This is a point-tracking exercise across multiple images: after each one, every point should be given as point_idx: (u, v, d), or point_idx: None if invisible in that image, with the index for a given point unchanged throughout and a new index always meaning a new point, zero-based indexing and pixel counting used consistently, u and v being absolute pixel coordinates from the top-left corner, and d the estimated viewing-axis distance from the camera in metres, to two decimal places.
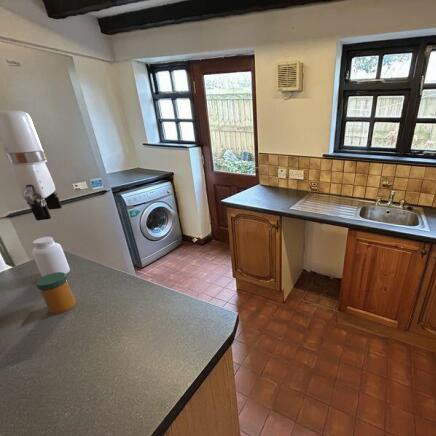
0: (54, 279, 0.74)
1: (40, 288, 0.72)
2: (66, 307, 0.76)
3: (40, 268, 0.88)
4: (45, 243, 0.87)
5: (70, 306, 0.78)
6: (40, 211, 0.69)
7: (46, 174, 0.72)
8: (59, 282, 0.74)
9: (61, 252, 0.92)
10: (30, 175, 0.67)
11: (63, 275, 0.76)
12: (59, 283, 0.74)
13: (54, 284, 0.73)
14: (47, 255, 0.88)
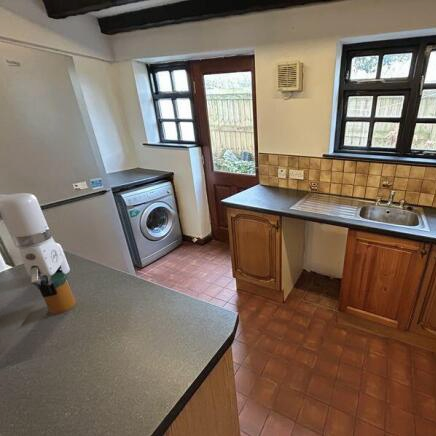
0: (54, 279, 0.74)
1: None
2: (66, 307, 0.76)
3: None
4: None
5: (70, 306, 0.78)
6: None
7: None
8: (59, 282, 0.74)
9: (61, 252, 0.92)
10: None
11: (63, 275, 0.76)
12: (59, 283, 0.74)
13: (54, 284, 0.73)
14: None
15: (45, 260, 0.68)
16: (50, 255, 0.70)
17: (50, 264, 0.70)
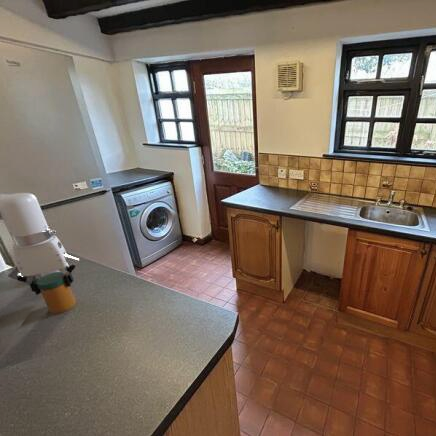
0: (56, 275, 0.75)
1: (62, 281, 0.74)
2: (66, 307, 0.76)
3: None
4: None
5: (70, 306, 0.78)
6: None
7: (39, 255, 0.69)
8: None
9: None
10: (14, 255, 0.67)
11: (51, 273, 0.76)
12: None
13: None
14: None
15: None
16: None
17: None
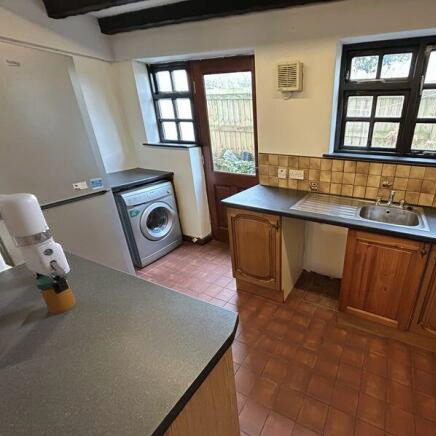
0: None
1: None
2: (66, 307, 0.77)
3: None
4: None
5: (70, 306, 0.78)
6: None
7: (29, 257, 0.68)
8: None
9: (61, 252, 0.92)
10: None
11: (42, 277, 0.74)
12: None
13: None
14: None
15: None
16: None
17: None
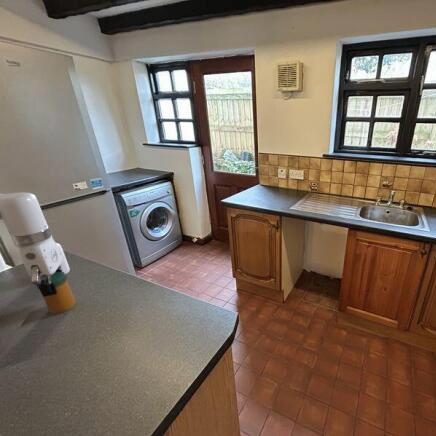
0: (45, 277, 0.74)
1: None
2: (66, 307, 0.77)
3: None
4: None
5: (70, 306, 0.78)
6: None
7: None
8: None
9: (61, 252, 0.92)
10: None
11: None
12: None
13: None
14: None
15: (45, 259, 0.68)
16: (50, 254, 0.70)
17: (49, 263, 0.70)
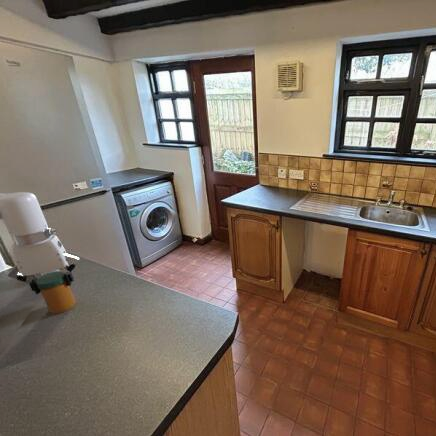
0: (45, 280, 0.73)
1: None
2: (66, 307, 0.77)
3: None
4: None
5: (70, 306, 0.78)
6: None
7: (39, 255, 0.69)
8: (42, 285, 0.71)
9: None
10: None
11: (52, 281, 0.72)
12: (41, 286, 0.71)
13: (38, 285, 0.71)
14: None
15: None
16: None
17: None
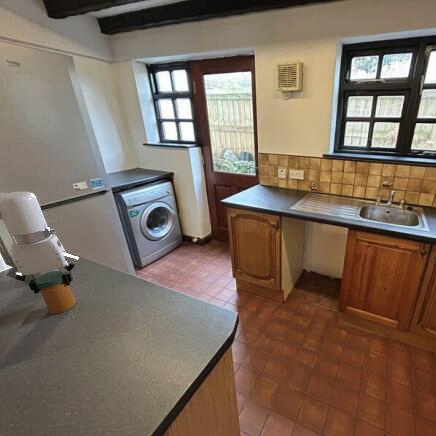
0: (55, 276, 0.74)
1: (43, 286, 0.71)
2: (66, 307, 0.77)
3: None
4: None
5: (70, 306, 0.78)
6: None
7: (38, 254, 0.69)
8: (62, 277, 0.75)
9: None
10: None
11: None
12: (62, 278, 0.75)
13: (58, 280, 0.73)
14: None
15: None
16: None
17: None
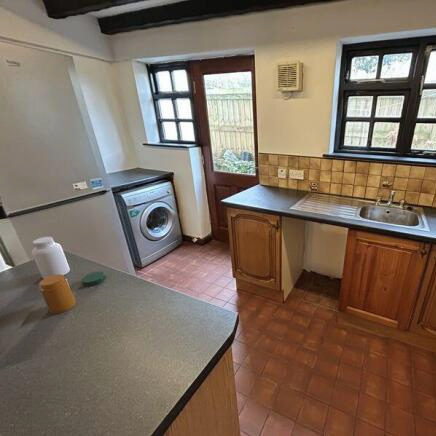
0: (96, 274, 0.91)
1: (103, 278, 0.91)
2: (66, 307, 0.77)
3: (40, 268, 0.88)
4: (45, 243, 0.87)
5: (70, 306, 0.78)
6: None
7: None
8: None
9: (61, 252, 0.92)
10: None
11: (91, 273, 0.92)
12: None
13: None
14: (47, 255, 0.88)
15: None
16: None
17: None
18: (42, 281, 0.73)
